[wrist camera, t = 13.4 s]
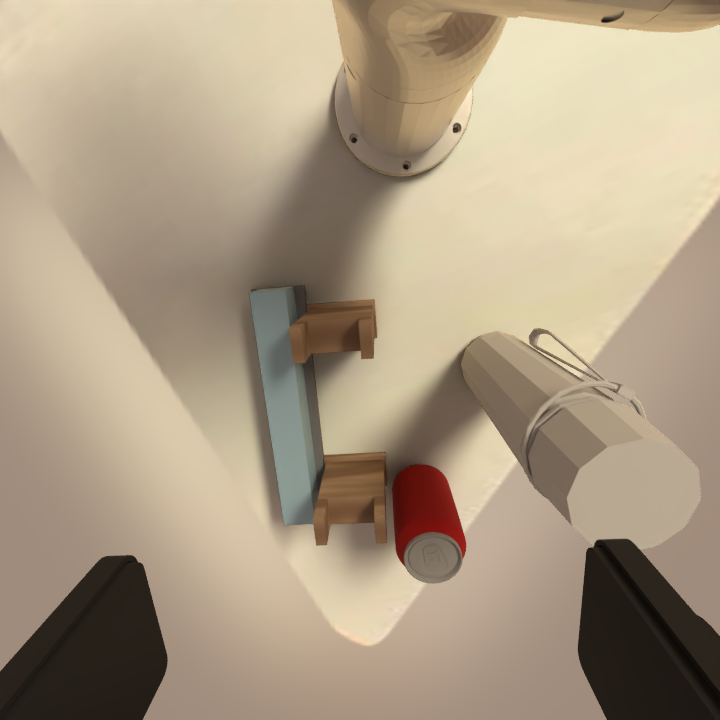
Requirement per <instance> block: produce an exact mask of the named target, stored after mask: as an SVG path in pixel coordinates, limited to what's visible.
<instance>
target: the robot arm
mask: <svg viewBox="0 0 720 720" xmlns="http://www.w3.org/2000/svg"><path fill="white" fill-rule="evenodd" d="M332 3H333V7H334V12H335V17H336V22H337V28H338V33H339V37H340V43H341V49H342V54H343V60H344V61H343V63H342V66H341V69H340V72H339V75H338V77H337V83H336V89H335V111H336V117H337V122H338V125H339V129H340V132H341V134H342V136H343V138H344V140H345V143H346V144H347V146H348V147H349V149H350V150H351V151H352V153H353V154H354V155H355V156H356V157H357V158H358V159H359V160H360V161H361V162H362V163H363V164H365V165H366V166H368V167H369V168H371V169H372V170H375V171H377V172H380V173H382V174H385V175H391V176H411V175H415V174H419V173H422V172H425V171H427V170H429V169H431V168H433V167H434V166H436V165H437V164H438V163H440V162H441V161H443V160H444V159H445V158H446V157H447V156H448V155H449V154H450V153H451V152H452V150H453V149H454V148H455V146H456V145H457V144H458V142H459V141H460V139H461V137H462V136H463V134H464V132H465V130H466V127H467V124H468V121H469V118H470V115H471V109H472V103H473V84H474V82H475V81H476V79H477V77H478V76H479V74H480V72H481V70H482V69H483V67H484V65H485V64H486V62H487V60H488V58H489V56H490V55H491V53H492V51H493V49H494V48H495V46H496V44H497V42H498V40H499V38H500V36H501V33H502V31H503V28H504V26H505V23H506V21H507V17H510V18H517V17H518V16H521V17H529V18H537V19H545V20H553V21H561V22H569V23H577V24H585V25H594V26H602V27H610V28H618V29H626V30H629V29H631V30H640V31H650V32H691V31H697V30H703V29H707V28H711V27H714V26H717V25H720V0H332ZM454 128H456V129H457V130H458V132H457V133H454V132H453V129H454ZM353 138H356V139H357V142H356V143H353V142H352V139H353ZM404 165H408V169H407V170H405V169H404V168H403V166H404ZM578 654H579V660H580V663H581V666H582V669H583V671H584V673H585V676H586V677H587V680H588V682H589V683H590V686H591V688H592V690H593V692H594V694H595V696H596V698H597V700H598V702H599V704H600V706H601V708H602V710H603V713H604V715H605V717H606V718H607V720H720V636H719V635H718V634H717V633H716V632H715V630H714V629H713V628H712V627H711V626H710V625H709V624H708V623H707V622H706V621H705V620H704V619H703V618H701V617H700V616H698V615H696V614H695V613H694V612H693V611H692V610H691V608H690V607H689V606H688V605H687V604H686V603H685V601H684V600H683V599H682V598H681V597H680V596H679V594H678V593H677V592H676V591H675V590H674V589H673V587H672V586H671V585H670V584H669V583H668V582H667V581H666V579H665V578H664V577H663V576H662V575H661V574H660V573H659V571H658V570H657V569H656V568H655V567H654V566H653V565H652V563H651V562H650V561H649V560H648V559H647V558H646V556H645V555H644V554H643V553H642V552H641V551H640V549H639V548H638V547H637V546H636V545H635V544H634V543H633V542H632V541H631V540H629V539H599V540H596V542H595V544H594V548H588V549H587V552H586V563H585V575H584V585H583V596H582V608H581V618H580V630H579V641H578ZM166 668H167V653H166V649H165V645H164V641H163V638H162V634H161V630H160V627H159V623H158V619H157V616H156V611H155V608H154V604H153V600H152V596H151V592H150V588H149V585H148V581H147V577H146V573H145V570H144V566H143V564H141V563H138V561H137V559H136V558H135V557H134V556H131V555H126V556H106V557H103V558H101V560H99V561H98V562H97V563H96V564H95V565H94V567H93V568H92V569H91V570H90V571H89V572H88V573H87V574H86V576H85V577H84V578H83V579H82V580H81V581H80V582H79V583H78V584H77V586H76V587H75V588H74V589H73V590H72V591H71V592H70V593H69V595H68V596H67V597H66V598H65V599H64V600H63V601H62V602H61V604H60V605H59V606H58V607H57V608H56V609H55V610H54V611H53V613H52V614H51V615H50V616H49V617H48V618H47V619H46V621H45V622H44V623H43V624H42V625H41V626H40V627H39V628H38V630H37V631H36V632H35V633H34V634H33V635H32V636H31V637H30V639H29V640H28V641H27V642H26V643H25V644H24V645H23V646H22V648H21V649H20V650H19V651H18V652H17V653H16V654H15V655H14V657H13V658H12V659H11V660H10V661H9V662H8V663H7V664H6V666H5V667H4V668H3V669H2V670H1V671H0V720H143V718H144V716H145V714H146V712H147V710H148V708H149V706H150V704H151V702H152V699H153V697H154V696H155V694H156V691H157V689H158V687H159V686H160V684H161V681H162V679H163V677H164V675H165V671H166Z"/></svg>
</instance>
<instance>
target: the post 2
mask: <svg viewBox="0 0 720 720" xmlns="http://www.w3.org/2000/svg"><path fill="white" fill-rule="evenodd" d="M324 466H325V470H324V474H323V478H322V482H321V486H320V491H319V495H318V499H317V503H316V508H315V512H314V516H313V523H314V531H315V538H316V545H327V541H328V535H329V529H330V524H349V523H373V522H375V533H376V543H387V530H386V500H385V486H387V473H386V459H385V452H379V453H359V454H340V455H324Z"/></svg>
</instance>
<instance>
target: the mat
mask: <svg viewBox="0 0 720 720" xmlns="http://www.w3.org/2000/svg"><path fill="white" fill-rule="evenodd" d="M293 287H294V295H295V303H296V311H297V319H300V318H301V317H302V316H303V315H304V314H305V313H306V312H307V308H306V305H307V304H306V295H305V286H293ZM256 290H259V289H253V290H251V292H253V291H256ZM303 368H304V377H305V385H306V393H307V401H308V409H309V418H310V426H311V434H312V442H313V450H314V458H315V467H316V475H317V483H318V491H320V486H321V482H322V478H323V474H324V470H325V466H324V454H323V445H322V436H321V427H320V418H319V410H318V401H317V392H316V383H315V374H314V366H313V357H312V354H310V356H309V357H308V359H307V361H306V362H305V363H303Z"/></svg>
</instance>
